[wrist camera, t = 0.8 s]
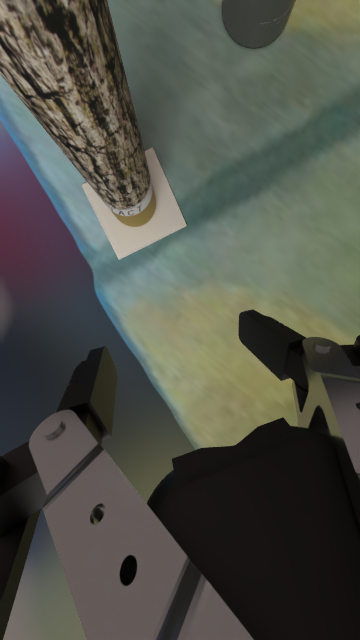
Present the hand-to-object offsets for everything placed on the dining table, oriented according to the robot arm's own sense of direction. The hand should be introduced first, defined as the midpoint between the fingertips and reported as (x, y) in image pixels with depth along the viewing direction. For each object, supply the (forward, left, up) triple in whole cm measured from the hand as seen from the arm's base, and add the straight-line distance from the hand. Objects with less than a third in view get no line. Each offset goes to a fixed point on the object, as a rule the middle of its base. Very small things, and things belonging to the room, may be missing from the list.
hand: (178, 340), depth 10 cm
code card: (-18, +1, -18) cm, 26 cm away
